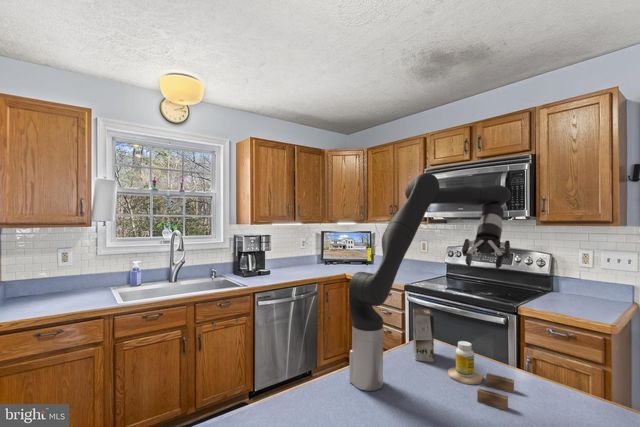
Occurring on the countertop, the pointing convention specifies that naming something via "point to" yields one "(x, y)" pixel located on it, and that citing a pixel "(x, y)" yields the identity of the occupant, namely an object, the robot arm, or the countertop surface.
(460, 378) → the trivet
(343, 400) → the countertop surface
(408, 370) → the countertop surface
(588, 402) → the countertop surface
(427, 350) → the coffee box
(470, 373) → the supplement bottle
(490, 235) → the robot arm
